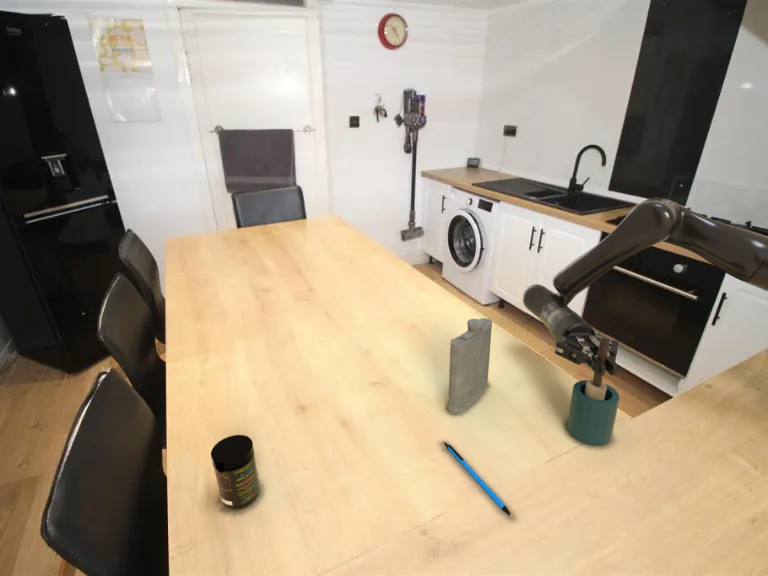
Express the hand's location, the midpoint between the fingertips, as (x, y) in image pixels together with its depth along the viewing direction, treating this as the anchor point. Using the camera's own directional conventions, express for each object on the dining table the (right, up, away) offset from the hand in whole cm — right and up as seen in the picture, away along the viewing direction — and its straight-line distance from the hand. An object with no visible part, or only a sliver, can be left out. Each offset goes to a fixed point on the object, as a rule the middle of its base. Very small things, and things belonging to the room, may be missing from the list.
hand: (608, 371), depth 77 cm
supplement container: (-67, -21, -4) cm, 71 cm away
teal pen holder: (0, -14, +9) cm, 17 cm away
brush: (0, -9, +7) cm, 11 cm away
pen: (-26, -19, -1) cm, 32 cm away
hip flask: (-22, -11, +21) cm, 32 cm away
